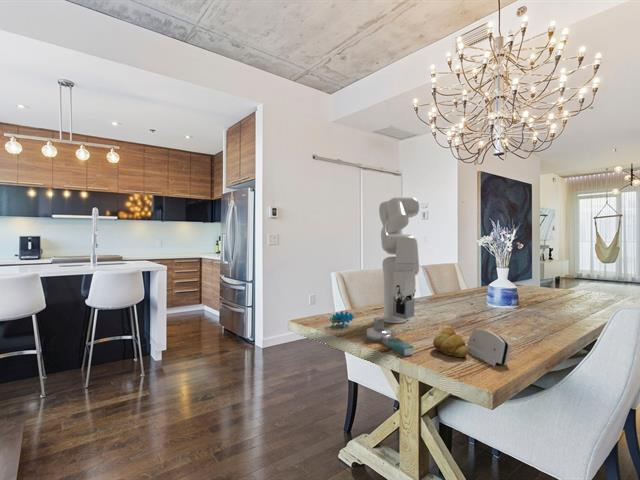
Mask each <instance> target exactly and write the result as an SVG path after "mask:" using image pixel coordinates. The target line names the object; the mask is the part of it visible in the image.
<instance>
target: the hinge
mask: <svg viewBox="0 0 640 480" xmlns="http://www.w3.org/2000/svg"><path fill="white" fill-rule="evenodd" d="M465 347H466V348H467V349H468V353H467V354H469V355H471V356H473V357H475V358H477V357H478V358H477V359H479V358H480V359H479V360H481V359H482V360H481V361H483V360H484V361H485V362H484V361H483V362H484V363H486V362H487V364H488V363H489V364H488V365H490V364H491V365H490V366H492V365H493V366H492V367H496V365H497V364H499V365H503V366H508V361H509V357H510V351H511V347H512V346H511V344H510V343H509V342H508V341H507V340H506V339H505V338H504V337H502V336H501V335H499V334H498V333H495V332H493V331H490V330H487V329H473V330H472V331H471V333H470V336H469V338H468V340H467V343H465Z"/></svg>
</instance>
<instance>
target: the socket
mask: <svg viewBox="0 0 640 480" xmlns="http://www.w3.org/2000/svg"><path fill="white" fill-rule="evenodd" d="M399 298H400V300H401V297H399ZM413 298H414V297H413ZM413 298H408V297H404V301H403V304H404V314H399V313H396V303H395V299H393V316H396V317H399V318H403V319H411V318H413V317H415V301H416V300H415V298H414V299H413Z"/></svg>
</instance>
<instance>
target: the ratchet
mask: <svg viewBox="0 0 640 480" xmlns="http://www.w3.org/2000/svg"><path fill="white" fill-rule="evenodd" d="M366 339H368V340H369V341H373V342H378V343H379V342H381V343H382V344H385V345H386V346H387V347H388V348H390V349H392V350H393V351H395V352H397V353H398V354H400V355H401V356H404V357H407V356H413V355H414V346H413V345H411V344H410V343H408V342H406V341H404V340H402V339H401V338H398V337H396V338H395V337H394V336H392V330H391V329H389V328H386V327H385V322H384V319H383V318H381V316H379V317H378V316H377V317H374V318H373V327H369V328H366Z"/></svg>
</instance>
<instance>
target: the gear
mask: <svg viewBox="0 0 640 480" xmlns="http://www.w3.org/2000/svg"><path fill="white" fill-rule="evenodd" d="M353 319H354V315H353V313H352V312H349V311H345V313H344V311H340V312H337V311H336V313H335V314H332V317H331V316H330V317H329V321H331V324H332V327H333V328H335V324H337V325H340V324H341V327H342V328H343V329H344V328H345V327H346V326H345V325H346V323H347V324H349V323H351V322H353Z"/></svg>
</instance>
